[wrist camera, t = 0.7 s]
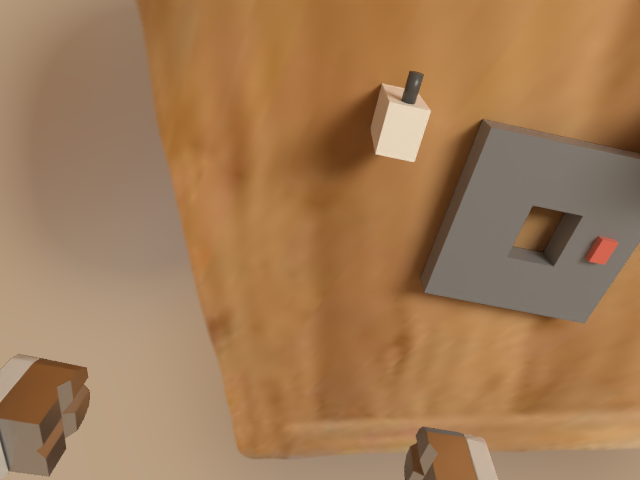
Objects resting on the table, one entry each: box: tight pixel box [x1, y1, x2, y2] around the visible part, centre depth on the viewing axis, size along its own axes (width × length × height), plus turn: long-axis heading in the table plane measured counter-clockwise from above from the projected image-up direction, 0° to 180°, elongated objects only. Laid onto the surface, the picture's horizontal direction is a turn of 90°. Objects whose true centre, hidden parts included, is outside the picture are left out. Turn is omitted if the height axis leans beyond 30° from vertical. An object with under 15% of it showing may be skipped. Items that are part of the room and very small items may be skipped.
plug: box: [370, 71, 431, 162], centre depth 39 cm, size 7×4×8 cm, turn 169°
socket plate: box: [421, 119, 640, 323], centre depth 47 cm, size 20×20×4 cm
